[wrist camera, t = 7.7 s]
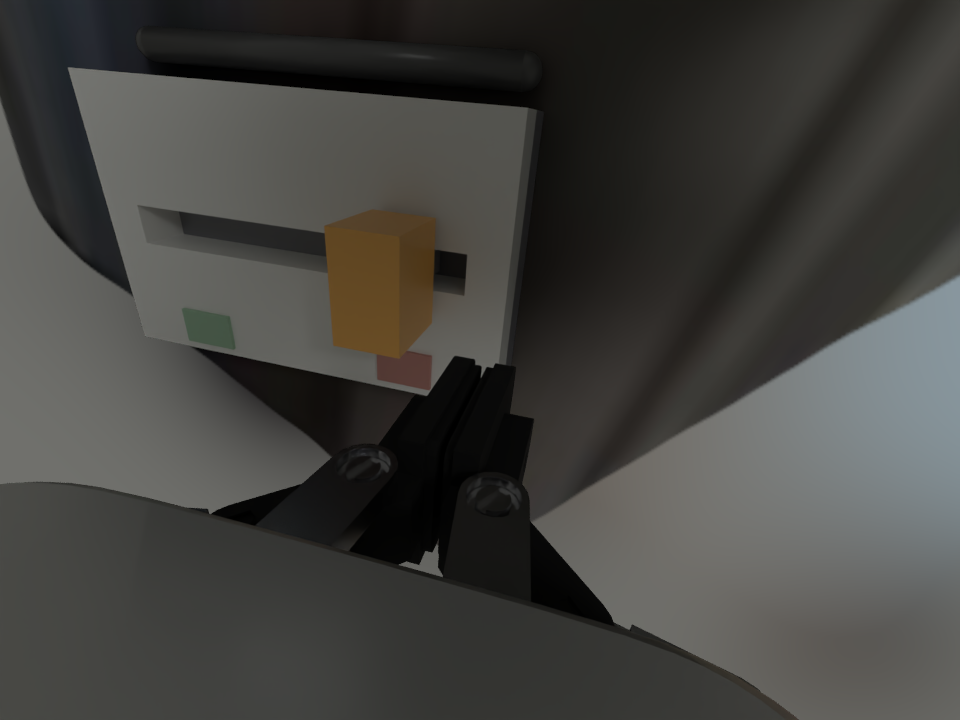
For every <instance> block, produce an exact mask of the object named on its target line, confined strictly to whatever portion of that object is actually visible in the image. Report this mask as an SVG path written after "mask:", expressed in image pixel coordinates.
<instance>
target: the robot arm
mask: <svg viewBox="0 0 960 720" xmlns="http://www.w3.org/2000/svg"><path fill="white" fill-rule="evenodd" d="M481 372H482V367H481V366H480V365H475V359H471V358H466V357H460V356H454V357H453V358H452V360H451V361H450V363H449V364H448V366H447V367H446V369H445V370H444V372H443V373H442V375H441V376H440V378H439V379H438V381H437V382H436V383H435V385H434V386H433V388H432V389H431V391H430V392H429V394H428V395H427V397H425V396H420V395H415V396H414V397H413V398H412V399H411V401H410V402H409V403H408V405H407V406H406V408H405V409H404V410H403V412H402V413H401V414H400V416H399V417H398V419H397V420H396V421H395V423H394V424H393V425H392V427H391V428H390V430H389V431H388V432H387V434H386V435H385V436H384V438H383V439H382V440H381V442H380V443H379V445H375V444H359V445H353V446H350V447H348V448H345V449H343V450H341V451H340V452H338V453H337V454H335V455H334V456H333V457H332V458H331V459H330V460H329V461H327V462H326V463H325V464H324V465H323V466H322V467H321V468H319V470H317V471H316V472H315V473H314V474H313V475H312V476H310V477H309V478H308V479H307V480H306V481H305V482H304V483H302V484H300V485H296V486H293V487H290V488H287V489H283V490H279V491H276V492H273V493H269V494H266V495H263V496H259V497H256V498H252V499H249V500H245V501H242V502H239V503H235V504H232V505H229V506H226V507H224V508H221V509H218V510H217V511H215V512H213V513H212V514H209V511H208V509H200V508H185V507H181V506H178V505H174V504H170V503H166V502H162V501H158V500H154V499H150V498H146V497H141V496H137V495H132V494H128V493H123V492H119V491H114V490H109V489H105V488H101V487H94V486H88V485H81V484H73V483H56V482H24V483H7V484H0V720H798V719H797V718H796V717H795V716H794V715H792V714H791V713H790V712H788V711H787V710H786V709H784V708H783V707H782V706H780V705H779V704H777V702H775V701H774V700H772V699H771V698H769V697H767V696H766V695H764V694H763V693H761V692H760V691H759V690H758V689H757V688H756V687H754V686H753V685H751V684H750V683H748V682H747V681H745V680H744V679H742V678H740V677H738V676H736V675H734V674H732V673H730V672H728V671H726V670H724V669H722V668H720V667H718V666H716V665H714V664H712V663H710V662H708V661H706V660H704V659H701V658H699V657H698V656H695V655H693V654H691V653H689V652H687V651H685V650H683V649H681V648H679V647H677V646H675V645H673V644H671V643H669V642H667V641H665V640H663V639H661V638H659V637H657V636H655V635H653V634H651V633H648V632H646V631H644V630H642V629H640V628H638V627H636V626H634V625H632V626H631V628H630V630H628V629H626V628H624V627H622V626H620V625H618V624H616V623H614V622H613V620H612V617H611V615H610V614H609V612H608V611H607V609H606V608H605V607H604V605H603V604H602V603H601V602H600V600H599V599H598V598H597V597H596V596H595V595H594V594H593V592H592V591H591V590H590V589H589V588H588V587H587V586H586V585H585V583H584V582H583V581H582V580H581V579H580V578H579V576H578V575H577V574H576V573H575V572H574V571H573V570H572V568H570V566H569V565H568V564H567V563H566V562H565V560H564V559H563V558H562V557H561V556H560V555H559V554H558V553H557V552H556V550H555V549H554V548H553V547H552V546H551V545H550V543H549V542H548V541H547V540H546V539H545V538H544V536H543V535H542V534H541V533H540V532H539V531H538V530H537V528H536V527H535V526H534V525H533V524H532V523H531V522H530V500H529V495H528V492H527V490H526V489H525V487H524V486H523V485H522V481H523V477H524V472H525V468H526V463H527V458H528V452H529V447H530V441H531V435H532V429H533V423H534V419H532V418H527V417H523V416H518V415H513V414H510V408H511V401H512V394H513V387H514V379H515V372H516V367H514V366H509V365H503V364H498V363H495V365H494V367H493V368H491V367H486V369H485V371H484V373H483V375H482V377H481ZM438 538H439V546H438V554H439V560H438V568H439V569H440V571H441V573H442V575H443V577H440V576H436V575H433V574H429V573H426V572H422V571H418V570H414V569H411V568H408V567H403V566H400V565H399V564H401V563H404V562H406V561H407V562H411V563H414V564H418V565H419V564H420V562H421V560H422V557H423V555H424V553H425V551H428V552H433V550H434V548H435V546H436V543H437V541H438Z"/></svg>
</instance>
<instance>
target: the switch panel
mask: <svg viewBox="0 0 960 720" xmlns="http://www.w3.org/2000/svg"><path fill="white" fill-rule="evenodd" d="M135 40H136V45H137V47H138V49H139V50H140V52H141V53H142V54H143V55H144V56H145V57H146V58H148V59H150V60H152V61H154V62H160V63H172V64H184V65H196V66H209V67H221V68H233V69H245V70H258V71H270V72H282V73H294V74H307V75H319V76H331V77H344V78H356V79H368V80H380V81H393V82H405V83H417V84H429V85H442V86H454V87H466V88H478V89H491V90H503V91H515V92H528V91H531V90H533V89H534V88H535V87H536V86H537V85H538V84H539V82H540V80H541V78H542V73H543V67H542V63H541V60H540V59H539V57H538V56H537V55H536V54H535V53H533V52H531V51H527V50H512V49H497V48H482V47H466V46H451V45H435V44H420V43H404V42H389V41H374V40H358V39H343V38H327V37H312V36H296V35H281V34H266V33H250V32H235V31H219V30H204V29H188V28H173V27H158V26H144V27H141V28H140V29H139V30H138V31H137V33H136V37H135ZM68 70H69V74H70V77H71V81H72V84H73V88H74V91H75V94H76V98H77V101H78V105H79V108H80V112H81V115H82V119H83V122H84V126H85V129H86V133H87V136H88V140H89V143H90V147H91V150H92V154H93V157H94V161H95V164H96V168H97V171H98V175H99V178H100V182H101V185H102V189H103V192H104V196H105V199H106V203H107V206H108V210H109V213H110V217H111V220H112V224H113V227H114V231H115V234H116V237H117V241H118V244H119V248H120V251H121V255H122V258H123V262H124V265H125V269H126V272H127V276H128V279H129V283H130V286H131V290H132V293H133V297H134V300H135V304H136V307H137V311H138V314H139V318H140V321H141V325H142V328H143V332H144V335H145V337H150V338H155V339H160V340H165V341H169V342H174V343H179V344H183V345H188V346H193V347H198V348H202V349H207V350H212V351H217V352H221V353H226V354H231V355H236V356H240V357H245V358H250V359H255V360H259V361H264V362H269V363H274V364H278V365H283V366H288V367H293V368H297V369H302V370H307V371H312V372H316V373H321V374H326V375H331V376H335V377H340V378H345V379H350V380H354V381H359V382H364V383H369V384H373V385H378V386H383V387H388V388H392V389H397V390H402V391H407V392H411V393H416V394H421V395H426V396H427V395H428V394H429V392H430V391H431V389H432V388H433V386H434V385H435V383H436V382H437V381H438V379H439V378H440V376H441V375H442V373H443V372H444V370H445V369H446V367H447V366H448V364H449V363H450V361H451V360H452V358H453V357H454V356H460V357H466V358H471V359H475V365H480V366H481V367H482V372H481V377H482V375H483V373H484V371H485V369H486V367H491V368H493V367H494V365H495V363H498V364H503V365H509V366H511V364H512V356H513V348H514V341H515V333H516V325H517V317H518V310H519V302H520V294H521V287H522V279H523V271H524V263H525V256H526V248H527V240H528V233H529V225H530V217H531V209H532V202H533V194H534V186H535V178H536V171H537V163H538V155H539V148H540V140H541V132H542V124H543V117H544V112H543V111H539V110H535V109H531V108H525V107H513V106H502V105H490V104H479V103H467V102H456V101H445V100H433V99H422V98H410V97H399V96H388V95H376V94H365V93H353V92H342V91H330V90H319V89H308V88H296V87H285V86H273V85H262V84H251V83H239V82H228V81H216V80H205V79H193V78H182V77H171V76H159V75H148V74H136V73H125V72H113V71H102V70H91V69H79V68H68ZM371 209H374V210H381V211H389V212H396V213H403V214H411V215H418V216H425V217H433V218H436V224H435V250H440V271H438V272H437V273H436V274H435V275H434V281H433V309H432V324H431V325H430V326H429V327H428V328H427V329H426V330H425V331H424V332H423V333H422V335H421V336H420V337H419V338H418V339H417V340H416V341H415V342H414V343H413V344H412V346H411V347H410V348H409V349H408V350H407V351H406V352H405V353H404V354H403V355H402V356H401V358H400V359H398V358H393V357H388V356H383V355H378V354H373V353H368V352H363V351H358V350H353V349H347V348H342V347H337V346H333V336H332V323H331V309H330V296H329V283H328V270H327V257H326V243H325V230H324V226H325V225H328V224H331V223H333V222H336V221H339V220H342V219H345V218H348V217H351V216H354V215H357V214H360V213H363V212H366V211H369V210H371Z"/></svg>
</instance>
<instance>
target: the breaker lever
mask: <svg viewBox="0 0 960 720" xmlns="http://www.w3.org/2000/svg"><path fill="white" fill-rule="evenodd" d="M435 224H436V218H433V217H425V216H418V215H411V214H403V213H396V212H389V211H381V210H374V209H371V210H369V211H366V212H363V213H360V214H357V215H354V216H351V217H348V218H345V219H342V220H339V221H336V222H333V223H331V224H328V225H325V226H324V230H325V243H326V257H327V270H328V283H329V296H330V309H331V323H332V336H333V346H337V347H342V348H347V349H353V350H358V351H363V352H368V353H373V354H378V355H383V356H388V357H393V358H398V359H400V358H401V356H402V355H403V354H404V353H405V352H406V351H407V350H408V349H409V348H410V347H411V346H412V344H413V343H414V342H415V341H416V340H417V339H418V338H419V337H420V336H421V335H422V333H423V332H424V331H425V330H426V329H427V328H428V327H429V326H430V325H431V324H432V309H433V281H434V275H435V274H436V273H437V272H438V271H440V250H435Z"/></svg>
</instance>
